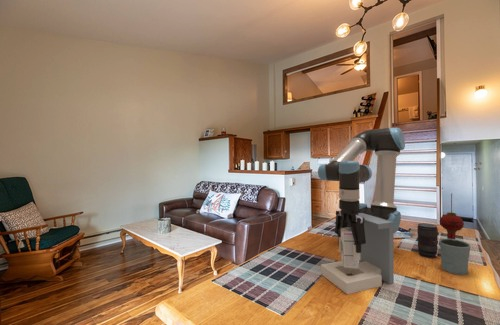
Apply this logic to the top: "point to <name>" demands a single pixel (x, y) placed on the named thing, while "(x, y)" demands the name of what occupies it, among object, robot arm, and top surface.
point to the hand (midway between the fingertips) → (349, 256)
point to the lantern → (451, 223)
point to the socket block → (367, 259)
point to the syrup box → (347, 248)
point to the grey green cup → (454, 256)
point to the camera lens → (427, 240)
